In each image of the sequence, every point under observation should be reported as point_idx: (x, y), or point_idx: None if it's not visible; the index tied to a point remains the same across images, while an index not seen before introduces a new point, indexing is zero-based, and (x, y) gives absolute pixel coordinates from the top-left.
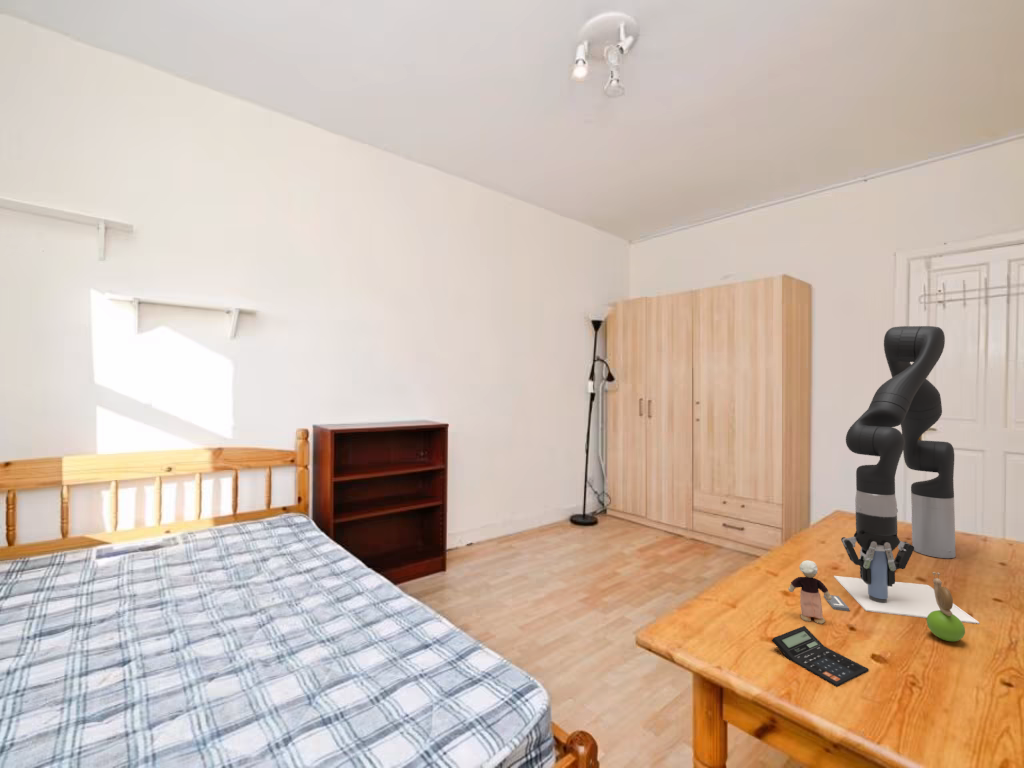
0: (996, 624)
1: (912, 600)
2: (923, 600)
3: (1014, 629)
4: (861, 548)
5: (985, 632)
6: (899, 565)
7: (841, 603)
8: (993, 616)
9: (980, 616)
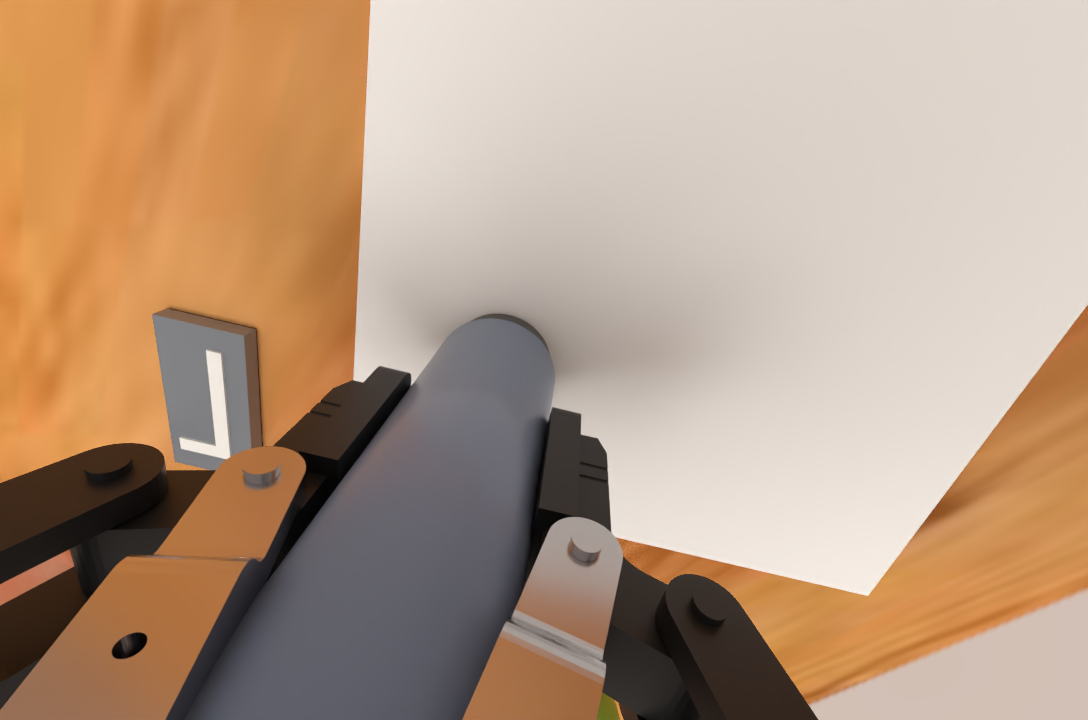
0: (956, 592)
1: (740, 373)
2: (825, 372)
3: (987, 628)
4: (46, 677)
5: (798, 638)
6: (626, 709)
7: (225, 436)
8: (1068, 530)
9: (982, 528)
